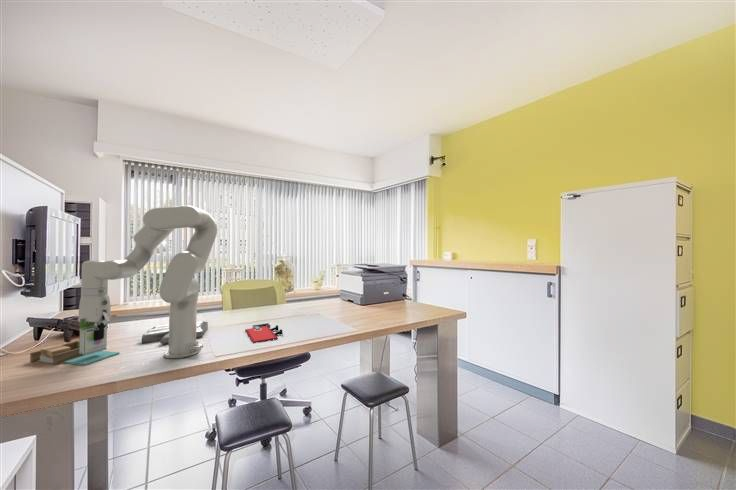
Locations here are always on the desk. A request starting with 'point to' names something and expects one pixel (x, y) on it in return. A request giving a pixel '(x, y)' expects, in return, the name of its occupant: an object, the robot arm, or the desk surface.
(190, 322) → the robot arm
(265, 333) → the red board with handle
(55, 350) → the oak offcut
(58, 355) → the tray
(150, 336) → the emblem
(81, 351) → the ink box
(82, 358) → the teal mat
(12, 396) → the desk surface
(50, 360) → the grey offcut
